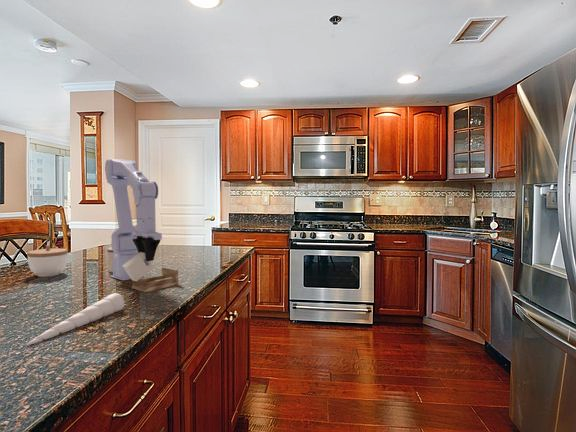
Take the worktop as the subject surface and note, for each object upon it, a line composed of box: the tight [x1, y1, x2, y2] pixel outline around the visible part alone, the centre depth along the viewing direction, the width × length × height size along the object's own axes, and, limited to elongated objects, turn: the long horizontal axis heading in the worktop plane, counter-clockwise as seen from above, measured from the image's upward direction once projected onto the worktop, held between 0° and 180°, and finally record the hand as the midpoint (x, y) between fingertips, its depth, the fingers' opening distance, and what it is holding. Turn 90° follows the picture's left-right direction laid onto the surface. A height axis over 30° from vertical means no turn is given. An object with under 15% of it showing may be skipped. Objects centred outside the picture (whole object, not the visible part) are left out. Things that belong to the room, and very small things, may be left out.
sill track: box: [131, 266, 179, 293], centre depth 113 cm, size 12×8×5 cm, turn 144°
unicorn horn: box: [26, 292, 125, 346], centre depth 79 cm, size 5×24×5 cm, turn 160°
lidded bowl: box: [26, 245, 69, 278], centre depth 129 cm, size 13×13×11 cm
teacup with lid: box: [106, 246, 116, 274], centre depth 138 cm, size 12×9×12 cm
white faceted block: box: [122, 252, 155, 282], centre depth 109 cm, size 3×7×6 cm
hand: (146, 260), depth 111 cm, fingers closed on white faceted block, 3 cm apart
